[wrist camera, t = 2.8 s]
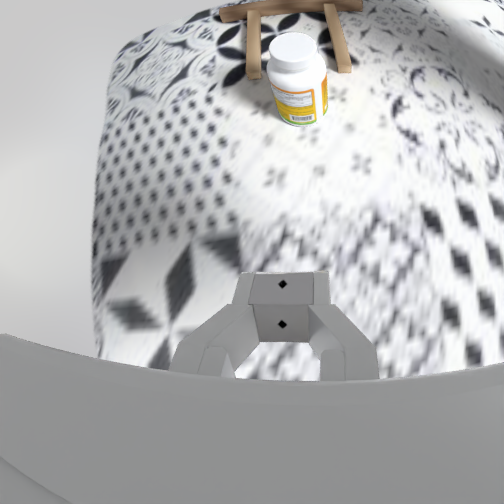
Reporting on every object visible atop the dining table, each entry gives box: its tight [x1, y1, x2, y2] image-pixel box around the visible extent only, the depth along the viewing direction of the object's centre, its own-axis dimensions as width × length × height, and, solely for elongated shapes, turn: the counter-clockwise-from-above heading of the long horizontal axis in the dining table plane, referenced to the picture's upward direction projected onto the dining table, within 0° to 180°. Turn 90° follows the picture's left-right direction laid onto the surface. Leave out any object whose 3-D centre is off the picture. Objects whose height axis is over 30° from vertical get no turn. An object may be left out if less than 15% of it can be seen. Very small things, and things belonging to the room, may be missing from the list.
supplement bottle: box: [267, 32, 328, 127], centre depth 26 cm, size 5×5×10 cm
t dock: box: [219, 0, 363, 80], centre depth 32 cm, size 20×14×2 cm
